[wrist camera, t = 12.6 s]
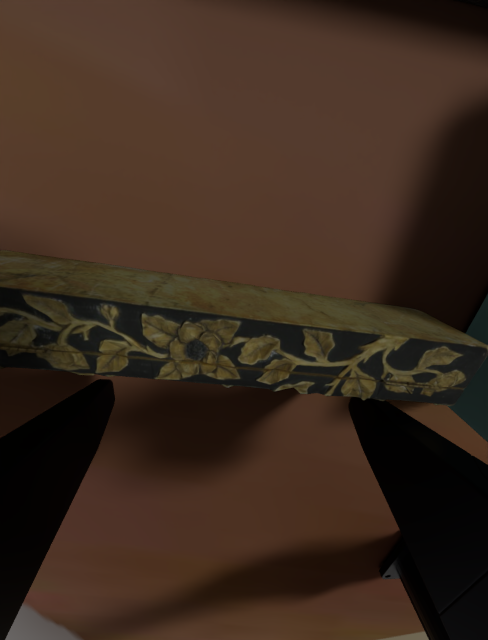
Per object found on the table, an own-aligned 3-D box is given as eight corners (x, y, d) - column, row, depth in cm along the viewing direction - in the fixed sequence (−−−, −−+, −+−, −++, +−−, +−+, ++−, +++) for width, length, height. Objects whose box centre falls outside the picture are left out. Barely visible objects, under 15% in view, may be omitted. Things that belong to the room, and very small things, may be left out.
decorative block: (18, 309, 9) (-94, 368, 6) (3, 242, 8) (-144, 268, 5) (392, 353, 11) (459, 413, 8) (416, 305, 10) (505, 352, 7)
